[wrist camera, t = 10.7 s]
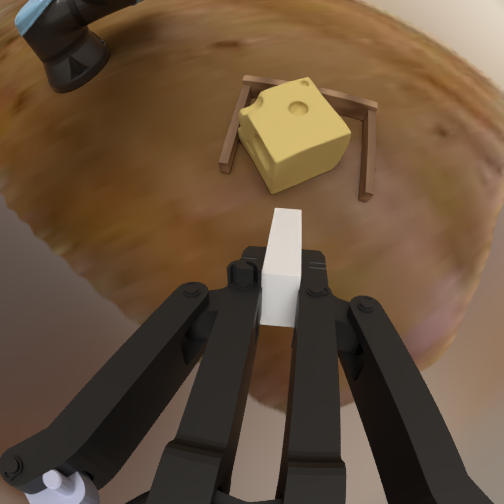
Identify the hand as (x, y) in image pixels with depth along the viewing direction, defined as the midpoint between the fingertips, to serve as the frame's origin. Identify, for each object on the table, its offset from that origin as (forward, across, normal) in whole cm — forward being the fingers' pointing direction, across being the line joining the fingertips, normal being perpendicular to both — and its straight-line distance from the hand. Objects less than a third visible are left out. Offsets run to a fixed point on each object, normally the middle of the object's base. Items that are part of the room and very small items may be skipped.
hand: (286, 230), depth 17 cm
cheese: (+26, -1, -1) cm, 26 cm away
